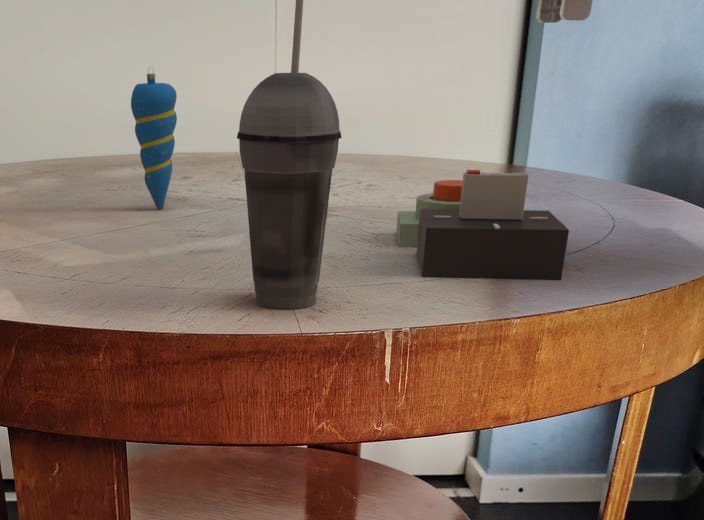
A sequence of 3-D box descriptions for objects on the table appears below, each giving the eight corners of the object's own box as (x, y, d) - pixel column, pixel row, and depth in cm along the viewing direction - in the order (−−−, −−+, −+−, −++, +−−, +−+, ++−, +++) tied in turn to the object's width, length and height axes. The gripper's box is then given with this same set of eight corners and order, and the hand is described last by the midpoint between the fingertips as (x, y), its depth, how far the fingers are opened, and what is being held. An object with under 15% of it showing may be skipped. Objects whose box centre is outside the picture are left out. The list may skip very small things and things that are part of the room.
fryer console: (541, 256, 80) (548, 208, 78) (561, 281, 72) (569, 227, 70) (416, 254, 82) (420, 206, 80) (421, 278, 74) (426, 225, 72)
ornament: (189, 209, 105) (185, 66, 98) (153, 214, 102) (146, 67, 95) (163, 204, 108) (158, 65, 101) (128, 209, 105) (119, 67, 98)
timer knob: (519, 217, 75) (526, 169, 74) (522, 220, 74) (529, 172, 72) (458, 216, 76) (463, 169, 74) (460, 219, 75) (465, 171, 73)
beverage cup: (308, 285, 72) (317, -2, 62) (352, 307, 66) (369, -7, 56) (223, 294, 69) (219, -3, 60) (260, 318, 63) (262, -8, 54)
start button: (473, 199, 87) (475, 180, 86) (477, 206, 83) (480, 186, 82) (431, 198, 87) (432, 179, 86) (433, 205, 84) (435, 185, 83)
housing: (498, 235, 89) (503, 192, 87) (508, 249, 83) (514, 204, 81) (396, 233, 91) (399, 191, 89) (398, 247, 84) (401, 203, 83)
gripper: (698, -259, 51) (643, 19, 57) (609, -181, 69) (575, 24, 75) (582, -256, 51) (541, 18, 58) (524, -179, 70) (498, 23, 76)
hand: (560, 21), depth 67 cm, fingers open, 8 cm apart
